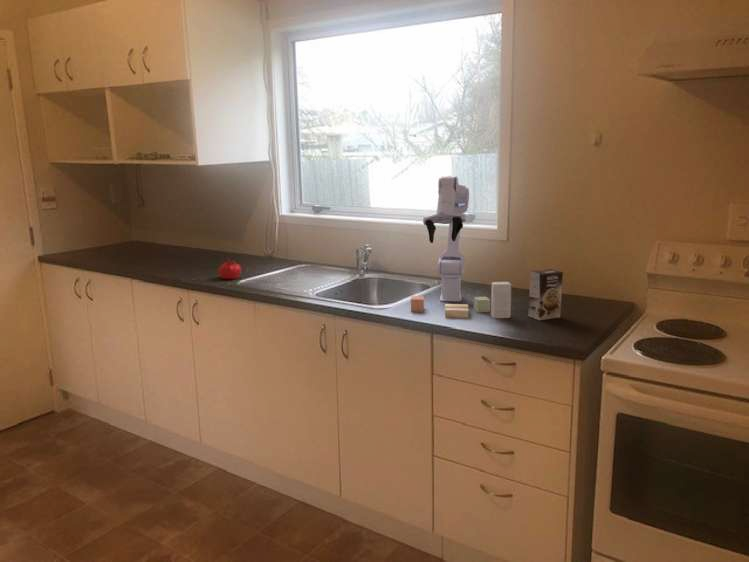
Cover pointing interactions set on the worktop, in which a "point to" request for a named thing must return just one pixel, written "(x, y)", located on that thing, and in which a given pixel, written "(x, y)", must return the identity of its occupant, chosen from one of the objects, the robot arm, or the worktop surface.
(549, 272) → the coffee box
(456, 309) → the maple slab
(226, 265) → the pomegranate
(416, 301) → the terracotta cube
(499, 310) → the skincare box
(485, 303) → the sage cube
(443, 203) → the robot arm
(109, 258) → the worktop surface
